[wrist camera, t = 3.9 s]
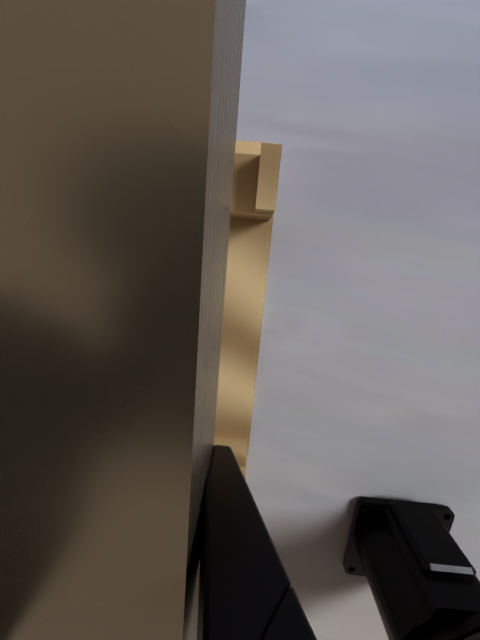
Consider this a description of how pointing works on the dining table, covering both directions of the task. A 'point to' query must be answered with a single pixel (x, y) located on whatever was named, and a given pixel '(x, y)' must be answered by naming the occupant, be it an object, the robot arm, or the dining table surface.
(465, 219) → the dining table surface
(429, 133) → the dining table surface
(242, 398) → the rack
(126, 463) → the rail
